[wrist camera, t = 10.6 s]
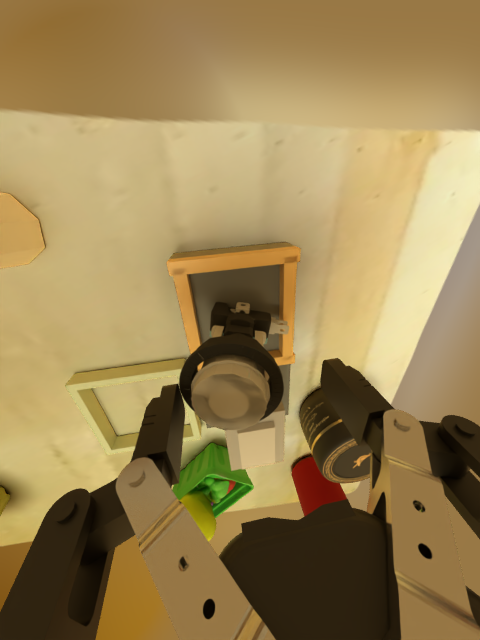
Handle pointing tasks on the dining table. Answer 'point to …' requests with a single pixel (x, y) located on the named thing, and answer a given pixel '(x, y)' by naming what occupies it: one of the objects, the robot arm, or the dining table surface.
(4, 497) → the plant pot
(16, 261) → the pepper shaker
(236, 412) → the black and tan cylinder
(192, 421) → the parts tray
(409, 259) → the dining table surface
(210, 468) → the fruit basket
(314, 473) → the beverage can
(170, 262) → the gray stepped base block
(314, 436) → the jar
